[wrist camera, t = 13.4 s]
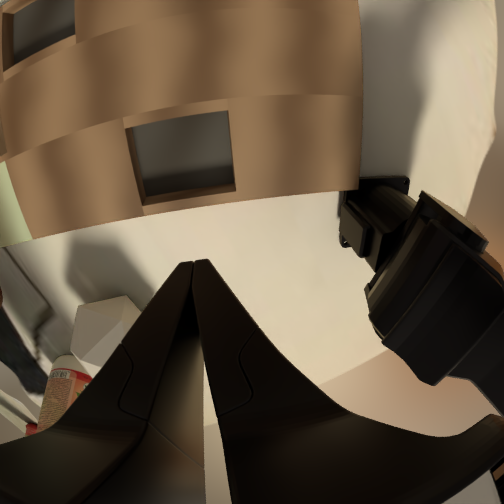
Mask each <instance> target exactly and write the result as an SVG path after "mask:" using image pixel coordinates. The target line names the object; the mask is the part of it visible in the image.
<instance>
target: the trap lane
mask: <svg viewBox="0 0 504 504" xmlns="http://www.w3.org/2000/svg"><path fill="white" fill-rule="evenodd" d="M362 120H363V64H362V42H361V27H360V16H359V6H358V0H10V1H8V2H7V3H5V4H4V5H3V6H1V7H0V121H1V126H2V131H3V136H4V141H5V145H6V149H7V153H6V154H4V155H2V156H0V248H2V247H6V246H10V245H14V244H17V243H21V242H25V241H29V240H33V239H37V238H41V237H45V236H50V235H54V234H58V233H63V232H67V231H72V230H76V229H81V228H85V227H90V226H95V225H100V224H105V223H110V222H115V221H120V220H125V219H131V218H136V217H142V216H147V215H153V214H159V213H165V212H171V211H177V210H183V209H190V208H196V207H203V206H210V205H217V204H224V203H231V202H239V201H246V200H254V199H263V198H271V197H280V196H289V195H299V194H309V193H320V192H331V191H344V190H357V189H358V185H359V173H360V160H361V144H362Z"/></svg>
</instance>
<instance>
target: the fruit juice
mask: <svg viewBox="0 0 504 504" xmlns="http://www.w3.org/2000/svg"><path fill="white" fill-rule="evenodd" d="M92 379H93V378H92V377H91V376H90V375H89V373H88V372H87V371H86V370H85V368H84V367H83V366H82V365H81V363H80V362H79V361H78V360H77V358H76V357H75V356H73V355H63V356H60V357H58V358H57V359H56V360H55V361H54V363H53V365H52V368H51V372H50V375H49V379H48V383H47V386H46V390H45V394H44V398H43V402H42V407H41V411H40V416H39V421H38V426H37V431H36V433H38V432H40V431H43V430H45V429H47V428H49V427H50V426H52V425H53V424H54V423H55V422H56V421H58V420H59V419H60V418H61V416H62V415H63V414H64V413H65V412H66V410H67V409H68V408H69V407H70V406H71V404H72V403H73V402H74V401H75V399H76V398H77V397H78V396H79V395H80V393H81V392H82V391H83V390H84V389H85V387H86V386H87V385H88V384H89V383H90V381H91V380H92Z"/></svg>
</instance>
